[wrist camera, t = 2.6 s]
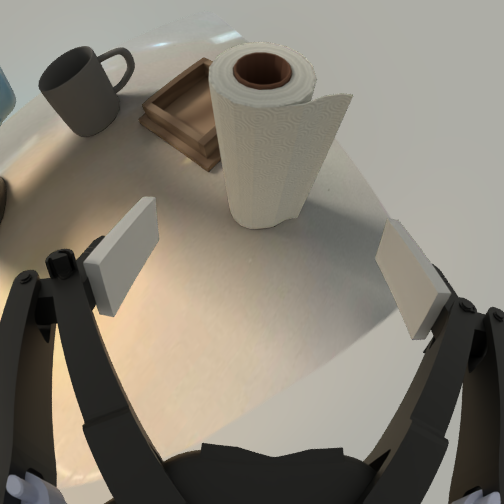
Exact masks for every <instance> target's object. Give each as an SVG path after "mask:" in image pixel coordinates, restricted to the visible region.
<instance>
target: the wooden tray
mask: <svg viewBox="0 0 504 504" xmlns="http://www.w3.org/2000/svg"><path fill="white" fill-rule="evenodd" d="M212 63H213V61H211V60H209V59H206V58H202V59H201V60H199V61H198V62H196V63H195V64H193V65H192V66H190V67H189V68H188V69H186V70H185V71H184V72H182V73H181V74H179V75H178V76H177V77H175V78H174V79H173V80H171V81H170V82H169V83H168V84H166V85H165V86H164V87H162V88H161V89H160V90H159V91H157V92H156V93H155V94H154V95H153V96H151V97H150V98H149V99H148V100H147V101H145V102H144V103H143V104H142V107H143V109H144V111H145V114H144V115H143V116H142V117H140V118H139V119H138V120H139V122H140V123H141V124H142V125H143V126H145V127H146V128H148V129H149V130H151V131H152V132H153V133H155V134H156V135H158V136H159V137H161V138H162V139H163V140H165V141H166V142H168V143H169V144H170V145H172V146H173V147H175V148H176V149H177V150H179V151H180V152H181V153H183V154H184V155H186V156H187V157H188V158H190V159H191V160H192V161H194V162H195V163H197V164H198V165H199V166H201V167H202V168H203V169H205V170H206V171H207V172H209V171H210V170H211V169H212V168H213V167H214V166H215V165H216V164H217V163H218V162H219V161H220V160H221V155H220V149H219V143H218V137H217V131H216V125H215V119H214V112H213V106H212V100H211V93H210V87H209V67H210V66H211V64H212Z"/></svg>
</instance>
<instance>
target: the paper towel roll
mask: <svg viewBox="0 0 504 504" xmlns="http://www.w3.org/2000/svg"><path fill="white" fill-rule="evenodd" d="M316 80H317V78H316V75H315V71H314V68H313V65H312V64H311V63H310V62H309V61H308V60H307V59H306V58H305V57H304V56H303V55H302V54H300V53H298V52H296V51H295V50H293V49H291V48H289V47H287V46H283V45H278V44H273V43H269V42H253V43H252V42H251V43H245V44H241V45H237V46H234V47H231V48H229V49H228V50H226V51H224V52H223V53H221V54H219V55H218V56H217V57H216V59H215V60H214V61H213V63H212V64H211V66H210V67H209V87H210V93H211V100H212V106H213V112H214V119H215V125H216V131H217V137H218V143H219V149H220V155H221V161H222V167H223V173H224V179H225V185H226V191H227V197H228V203H229V208H230V212H231V214H232V216H233V218H234V220H235V221H236V222H238V223H239V224H240V225H241V226H243V227H246V228H249V229H262V228H270V227H274V226H276V225H277V224H279V223H281V222H283V221H285V220H288V219H291V218H297V217H298V215H299V213H300V211H301V209H302V207H303V205H304V203H305V200H306V198H307V196H308V194H309V192H310V190H311V188H312V186H313V183H314V181H315V179H316V177H317V175H318V173H319V171H320V168H321V166H322V164H323V162H324V160H325V157H326V155H327V153H328V151H329V149H330V146H331V144H332V142H333V140H334V138H335V135H336V133H337V131H338V128H339V127H340V124H341V122H342V120H343V117H344V115H345V113H346V111H347V108H348V106H349V104H350V102H351V99H352V97H353V95H351V94H342V93H341V94H333V95H326V96H323V97H321V98H318V99H315V100H313V101H311V99H312V95H313V91H314V88H315V84H316Z"/></svg>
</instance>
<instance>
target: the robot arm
mask: <svg viewBox="0 0 504 504" xmlns="http://www.w3.org/2000/svg"><path fill="white" fill-rule="evenodd" d="M15 104H16V97H15V94H14V92H13V90H12V88H11V86H10V84H9V82H8V80H7V78H6V77H5V75H4V73H3V71H2V69H1V67H0V126H1V125H2V122H3V121H4V120H5V118H6V117H7V116H8V115H9V114H10V113H11V111H12V110H13V109H14V107H15ZM5 203H6V186H5V183H4V181H3V179H2V178H1V177H0V223H1V220H2V217H3V213H4V209H5ZM158 241H159V233H158V222H157V211H156V198H155V197H142V198H141V199H140V200H139V201H138V202H137V203H136V204H135V205H134V206H133V207H132V208H131V209H130V211H129V212H128V213H127V214H126V215H125V216H124V217H123V218H122V219H121V220H120V221H119V222H118V223H117V224H116V225H115V227H114V228H113V229H112V230H111V231H110V232H109V233H108V234H107V235H106V236H101V237H99V238H97V239H96V240H94V241H93V242H92V243H91V244H90V245H89V248H87V249H86V250H85V251H84V252H83V253H82V254H81V256H80V257H79V258H78V259H77V260H76V259H75V256H74V253H73V251H72V250H70V249H61V250H57V251H55V252H53V253H51V254H50V255H49V256H48V257H47V258H46V261H45V263H46V266H47V269H48V272H49V275H50V278H46V279H39V276H38V273H37V272H36V271H34V270H27V271H23V272H21V273H20V274H19V275H18V276H17V277H16V278H15V280H14V282H13V284H12V287H11V290H10V293H9V296H8V299H7V302H6V305H5V308H4V311H3V314H2V318H1V321H0V504H67V503H66V502H65V500H64V497H63V495H62V493H61V492H60V491H59V490H58V489H57V488H56V487H57V472H56V460H55V451H54V439H53V424H52V368H53V351H54V339H55V330H56V323H58V328H59V333H60V338H61V343H62V347H63V351H64V356H65V360H66V364H67V368H68V371H69V375H70V378H71V382H72V385H73V389H74V392H75V395H76V398H77V401H78V404H79V407H80V410H81V413H82V416H83V419H84V423H85V424H84V425H82V426H83V432H84V435H85V438H86V440H87V443H88V445H89V447H90V450H91V452H92V454H93V457H94V459H95V461H96V463H97V466H98V468H99V470H100V472H101V474H102V476H103V478H104V480H105V482H106V484H107V486H108V488H109V490H110V492H111V494H112V496H113V497H114V498H112V499H111V500H109V501H108V502H106V503H104V504H421V502H422V500H423V498H424V496H425V494H426V493H427V491H428V489H429V487H430V485H431V483H432V481H433V479H434V477H435V475H436V473H437V471H438V468H439V466H440V464H441V462H442V460H443V457H444V455H445V452H446V450H447V447H448V444H449V442H448V439H446V438H444V436H445V433H446V430H447V428H448V425H449V423H450V420H451V417H452V414H453V411H454V408H455V405H456V402H457V399H458V396H459V393H460V389H461V386H462V382H463V392H462V410H461V422H460V432H459V440H458V447H457V454H456V460H455V465H454V471H453V476H452V481H451V486H450V492H449V502H448V504H504V312H503V311H501V310H500V309H498V308H495V307H491V308H489V310H488V312H487V313H486V315H485V314H481V313H477V309H476V308H475V306H474V305H473V304H472V303H471V302H470V301H469V300H467V299H465V298H460V297H458V296H457V294H456V293H455V291H454V290H453V288H452V287H451V285H450V284H449V283H448V281H447V279H446V278H444V277H445V276H444V275H443V273H442V272H441V271H440V270H439V269H438V268H437V267H436V266H434V264H431V263H430V261H429V260H428V258H427V257H426V255H425V254H424V253H423V251H422V250H421V249H420V247H419V246H418V245H417V243H416V242H415V241H414V239H413V238H412V237H411V236H410V234H409V233H408V232H407V230H406V229H405V228H404V227H403V225H402V224H401V223H400V222H399V220H394V219H387V221H386V224H385V228H384V231H383V235H382V238H381V241H380V244H379V248H378V251H377V254H376V257H375V260H376V262H377V264H378V266H379V268H380V270H381V272H382V274H383V276H384V278H385V280H386V282H387V284H388V286H389V289H390V291H391V293H392V295H393V297H394V299H395V302H396V304H397V306H398V308H399V310H400V313H401V315H402V317H403V320H404V322H405V324H406V327H407V329H408V331H409V334H410V336H411V339H412V340H419V339H420V340H421V339H425V338H426V337H427V335H428V333H429V332H430V330H432V333H433V335H434V336H433V338H432V340H431V341H430V343H429V344H428V346H427V347H426V349H425V350H424V352H423V353H425V355H424V357H423V360H422V362H421V364H420V366H419V368H418V371H417V373H416V375H415V377H414V379H413V381H412V383H411V385H410V387H409V389H408V391H407V393H406V395H405V397H404V399H403V401H402V403H401V404H400V406H399V408H398V410H397V412H396V413H395V415H394V417H393V419H392V420H391V422H390V424H389V426H388V427H387V429H386V430H385V432H384V434H383V435H382V437H381V439H380V440H379V442H378V443H377V445H376V446H375V448H374V449H373V451H372V452H371V453H370V455H369V456H368V457H367V458H366V459H365V460H364V461H363V462H362V461H360V460H358V459H356V458H353V457H349V456H345V455H344V454H343V448H328V449H310V450H305V451H302V452H297V453H293V454H289V455H284V456H279V457H270V456H266V455H263V454H259V453H255V452H252V451H249V450H245V449H242V448H239V447H232V446H223V445H214V444H207V443H202V447H201V450H195V451H190V452H185V453H182V454H178V455H176V456H174V457H171V458H169V459H168V460H166V461H163V460H162V458H161V456H160V455H159V453H158V452H157V450H156V449H155V447H154V445H153V444H152V442H151V440H150V439H149V437H148V435H147V434H146V432H145V430H144V428H143V426H142V424H141V423H140V421H139V419H138V417H137V415H136V413H135V411H134V409H133V407H132V405H131V403H130V401H129V399H128V397H127V395H126V393H125V391H124V389H123V387H122V385H121V382H120V380H119V378H118V376H117V373H116V371H115V369H114V367H113V364H112V362H111V359H110V357H109V355H108V352H107V350H106V347H105V344H104V342H103V339H102V337H101V334H100V331H99V328H98V326H97V323H96V320H95V317H94V314H93V312H92V310H93V309H94V307H95V305H96V306H97V308H98V311H99V314H101V315H106V316H111V317H114V316H115V315H116V313H117V311H118V309H119V307H120V305H121V304H122V302H123V300H124V298H125V296H126V295H127V293H128V291H129V289H130V288H131V286H132V284H133V282H134V281H135V279H136V277H137V276H138V274H139V272H140V270H141V269H142V267H143V265H144V264H145V262H146V260H147V259H148V257H149V256H150V254H151V252H152V251H153V249H154V247H155V246H156V244H157V243H158Z"/></svg>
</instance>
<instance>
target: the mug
mask: <svg viewBox="0 0 504 504" xmlns="http://www.w3.org/2000/svg"><path fill="white" fill-rule="evenodd" d="M118 54H120V55H122V56H123V57H124V58H125V60H126V63H127V70H126V72H125V74H124V76H123V78H122V79H121V81H120V82H119V83H118V84H117V85H116V86H114V87H113V86H112V84H111V83H110V81H109V79H108V77H107V75H106V73H105V71H104V69H103V67H102V65H101V62H102V61H104V60H106V59H108V58H110V57H112V56H115V55H118ZM134 68H135V63H134V59H133V57H132V55H131V53H130V52H129V51H128V50H127V49H125V48H116V49H113V50H110V51H108V52H106V53H104V54H102V55H100V56H98V57H97V56H96V54H95V53H94V51H93V50H92V49H91V48H90V47H87V46H82V47H77V48H74V49H72V50H70V51H68V52H66V53H64V54H63V55H61V56H60V57H58V58H57V59H56V60H55V61H53V62H52V63H51V64H50V65H49V66H48V67H47V69H46V70H45V71H44V73H43V74H42V76H41V78H40V80H39V89H40V91H41V92H42V94H43V95H44V97H45V98H46V99H47V101H48V102H49V103H50V105H51V106H52V107H53V108H54V110H55V111H56V112H57V113H58V115H59V116H60V117H61V118H62V119H63V121H64V122H65V123H66V124H67V125H68V126H69V127H70V129H71V130H72V131H73V132H74V133H76V134H77V135H79V136H83V137H87V136H92V135H95V134H97V133H99V132H101V131H102V130H104V129H105V128H106V127H107V126H108V125H110V124H111V122H112V121H113V120H114V119H115V117H116V116H117V114H118V111H119V105H120V104H119V99H118V97H117V95H116V93H117V92H119V91H120V90H121V89H122V88H123V87H124V86H125V85H126V84H127V82H128V81H129V79H130V77H131V76H132V74H133V72H134Z"/></svg>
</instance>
